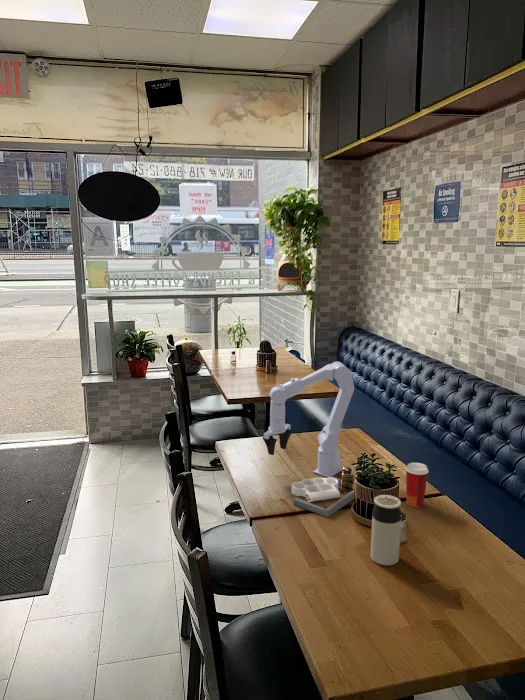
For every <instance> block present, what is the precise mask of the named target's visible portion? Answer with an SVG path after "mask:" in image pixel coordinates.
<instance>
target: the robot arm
mask: <svg viewBox="0 0 525 700" xmlns="http://www.w3.org/2000/svg"><path fill="white" fill-rule="evenodd" d="M323 380H327V381H334V380H335V381H336V384H337V385H338V386H339V390H338V393H337V396H336V398H335V400H334V401H335V402H334V404H333V407H332V409H331V412H330V414H329V417H328V420H327V423H326V425H324V427H323V428H322V430H321V431H320V432H319V433H318V434H317V443H318V444H319V447H318V448H317V467H316V469H314V470H313V471H312V472H313V473H315V474H318V475H320V476H324V477H325V478H329V477H330V476H333V477H334V476H335V475H336V474H338V473H340V472H341V471H343V469H342V468H341V455H342V454H341V452H340V450H339V443H338V442H339V439H340V436H339V435H340V434H339V432H340V428H341V426H342V424H343V421H344V418H345V415H346V412H347V409H348V407H349V404H350V402H351V400H352V397H353V394H354V391H355V384H354V380H353V373H352V372H351V370H350V369H349V367H347V366H346V365H344V363H343V362H341V361H333V362H332V363H328V364H326V365H325V366H323V367H322V368H319V369H317V370H316V371H314V372H312V373H310V374H308V375H306V376H305V377H303V378H298V377H296V378H294V377H291V378H290V380H288V381H287V382H284V383H283V384H282V383H281V384H279V386H273V387H272V388H271V389H270V391H269V393H268V395H269V397H270V408H269V409H270V410H269V416H270V417H269V426H268V428H267V429H268V430H267V431H266V432H264V433H263V436H262V440H263V442H264V443H265V445H266V449H267V453H268V455H271V456H274V455H275V452H276V451H275V449H276V444H277V441H278V438H274V436H276V435H278V437H279V447H280V449H282V450H286V449H287V444H288V441H289V440H290V437H291V435H292V432H293V431H292V430H291V424H289V423H286V404H285V403H286V401H287V399H290V398H292V397H294V396H296V395H298V394H300V393H303V392H305V391H304V390H305V388H306V387H308V386H311V385H313V384H316V383H318V382H321V381H323Z"/></svg>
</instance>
